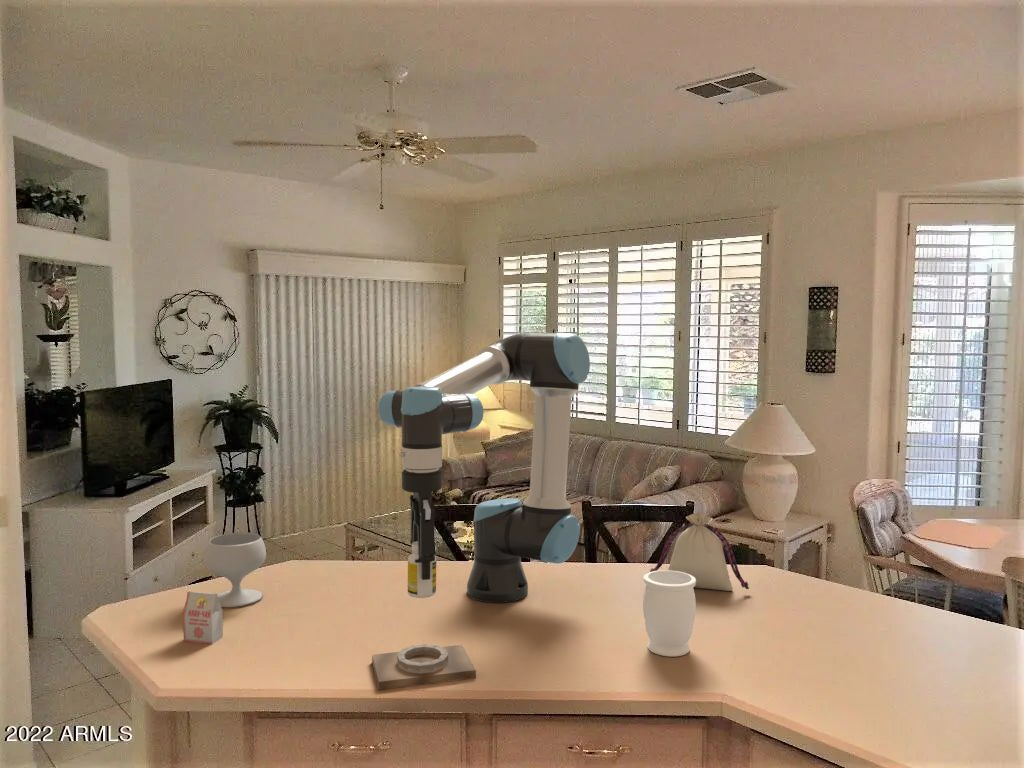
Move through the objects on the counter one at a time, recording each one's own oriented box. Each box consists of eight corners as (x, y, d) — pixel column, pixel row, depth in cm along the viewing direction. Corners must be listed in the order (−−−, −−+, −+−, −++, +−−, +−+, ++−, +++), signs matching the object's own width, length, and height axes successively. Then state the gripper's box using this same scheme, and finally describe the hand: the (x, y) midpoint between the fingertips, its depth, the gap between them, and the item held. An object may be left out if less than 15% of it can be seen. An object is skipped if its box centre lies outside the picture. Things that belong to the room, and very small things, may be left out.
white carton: (194, 634, 162) (193, 588, 161) (223, 637, 160) (221, 591, 160) (183, 641, 158) (182, 594, 158) (212, 644, 157) (211, 596, 156)
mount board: (462, 651, 153) (462, 637, 153) (475, 677, 142) (475, 662, 142) (372, 662, 148) (372, 647, 148) (378, 689, 137) (378, 673, 137)
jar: (664, 664, 148) (665, 588, 147) (632, 644, 157) (633, 573, 156) (705, 653, 153) (707, 580, 152) (672, 635, 162) (673, 566, 161)
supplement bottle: (431, 599, 141) (431, 548, 140) (403, 597, 142) (403, 546, 141) (439, 590, 146) (439, 540, 146) (413, 588, 147) (413, 538, 147)
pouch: (749, 587, 193) (750, 514, 192) (748, 598, 185) (750, 521, 184) (650, 577, 200) (651, 506, 199) (645, 587, 193) (647, 514, 191)
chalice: (279, 596, 185) (278, 536, 184) (230, 614, 173) (229, 550, 172) (241, 586, 193) (240, 528, 192) (192, 602, 181) (191, 541, 180)
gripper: (395, 461, 150) (396, 576, 152) (409, 478, 133) (409, 608, 134) (433, 460, 152) (433, 573, 154) (451, 476, 135) (451, 604, 136)
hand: (422, 589), depth 144 cm, fingers closed on supplement bottle, 5 cm apart
